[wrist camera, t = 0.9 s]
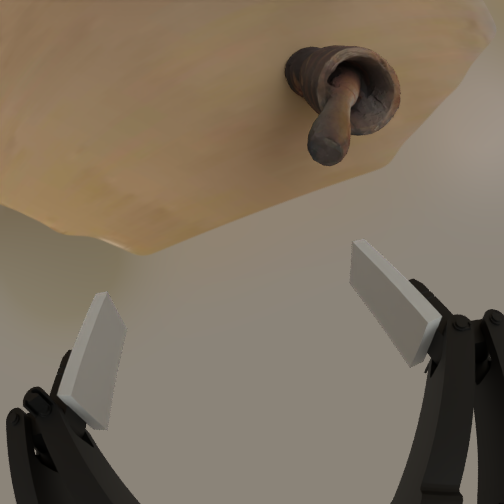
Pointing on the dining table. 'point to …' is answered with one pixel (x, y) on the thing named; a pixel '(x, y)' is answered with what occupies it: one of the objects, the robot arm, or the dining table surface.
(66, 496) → the robot arm
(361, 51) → the mortar and pestle
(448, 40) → the dining table surface
